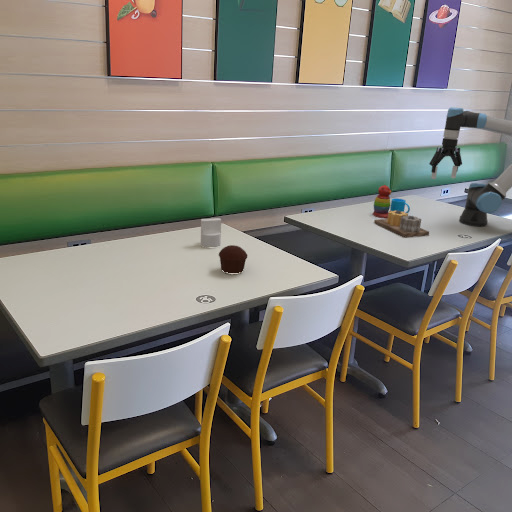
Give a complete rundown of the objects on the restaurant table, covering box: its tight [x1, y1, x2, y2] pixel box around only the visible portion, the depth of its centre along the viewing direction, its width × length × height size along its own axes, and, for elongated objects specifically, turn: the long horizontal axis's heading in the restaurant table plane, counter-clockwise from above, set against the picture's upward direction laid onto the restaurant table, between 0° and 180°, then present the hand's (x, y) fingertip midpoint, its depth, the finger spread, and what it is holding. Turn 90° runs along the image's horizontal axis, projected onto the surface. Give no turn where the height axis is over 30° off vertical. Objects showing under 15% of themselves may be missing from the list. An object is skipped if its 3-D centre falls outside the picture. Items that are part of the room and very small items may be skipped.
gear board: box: [373, 211, 430, 238], centre depth 271 cm, size 16×26×9 cm, turn 22°
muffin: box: [218, 244, 248, 273], centre depth 202 cm, size 12×11×10 cm
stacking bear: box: [372, 184, 392, 219], centre depth 294 cm, size 11×10×18 cm
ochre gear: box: [387, 210, 409, 226], centre depth 274 cm, size 10×10×6 cm
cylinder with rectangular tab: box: [200, 217, 222, 248], centre depth 229 cm, size 9×9×12 cm
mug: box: [389, 198, 411, 214], centre depth 302 cm, size 12×8×8 cm
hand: (443, 178), depth 273 cm, fingers open, 13 cm apart
